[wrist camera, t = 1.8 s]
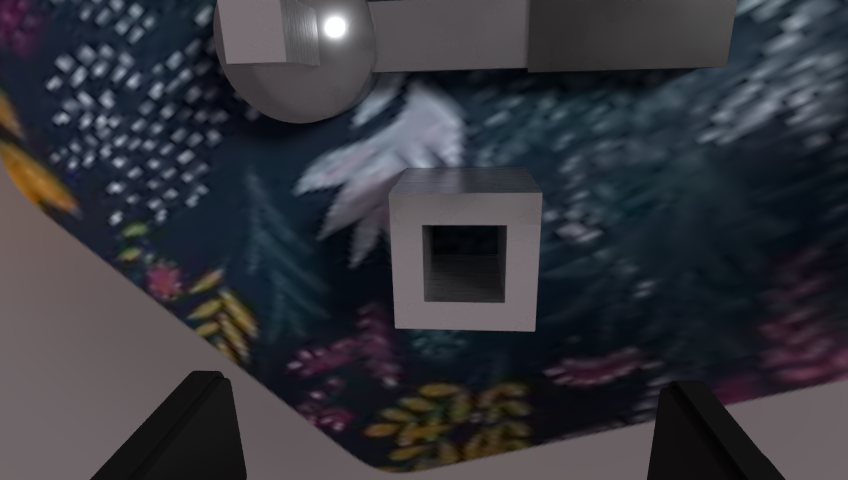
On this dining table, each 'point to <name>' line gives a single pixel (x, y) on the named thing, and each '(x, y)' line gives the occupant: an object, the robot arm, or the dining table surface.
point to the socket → (465, 273)
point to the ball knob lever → (448, 43)
